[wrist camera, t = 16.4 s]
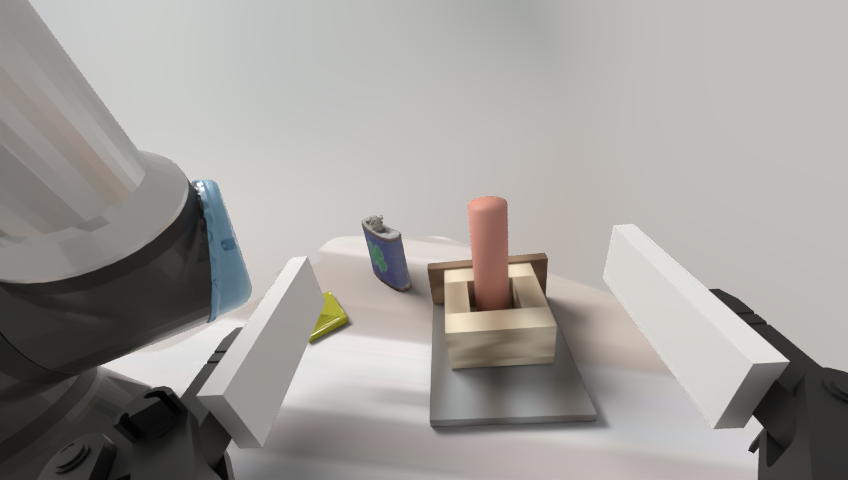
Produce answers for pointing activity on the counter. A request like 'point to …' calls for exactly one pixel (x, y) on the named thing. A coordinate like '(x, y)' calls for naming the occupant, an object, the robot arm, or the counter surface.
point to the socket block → (498, 322)
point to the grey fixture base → (502, 374)
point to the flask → (386, 253)
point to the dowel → (489, 252)
